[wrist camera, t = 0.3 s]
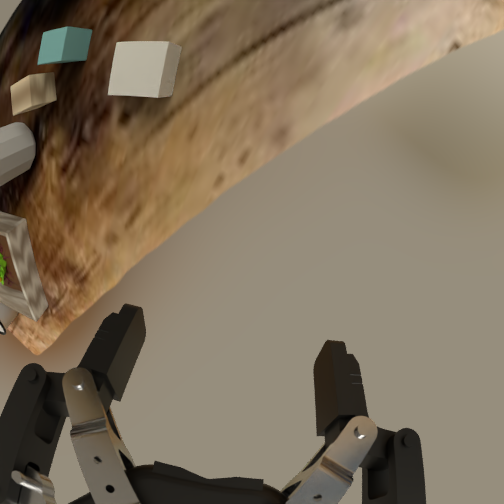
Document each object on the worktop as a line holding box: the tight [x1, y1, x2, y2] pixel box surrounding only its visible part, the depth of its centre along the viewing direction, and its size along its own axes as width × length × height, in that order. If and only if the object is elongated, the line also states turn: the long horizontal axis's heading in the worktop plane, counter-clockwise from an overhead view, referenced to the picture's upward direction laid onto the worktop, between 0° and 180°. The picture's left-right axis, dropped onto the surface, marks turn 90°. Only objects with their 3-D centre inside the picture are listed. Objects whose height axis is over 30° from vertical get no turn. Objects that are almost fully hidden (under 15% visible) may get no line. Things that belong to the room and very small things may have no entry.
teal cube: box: [38, 27, 92, 65], centre depth 24 cm, size 5×5×6 cm
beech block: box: [11, 72, 56, 115], centre depth 27 cm, size 5×5×6 cm
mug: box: [0, 302, 18, 335], centre depth 57 cm, size 12×10×9 cm
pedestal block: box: [108, 41, 182, 98], centre depth 27 cm, size 7×7×5 cm
